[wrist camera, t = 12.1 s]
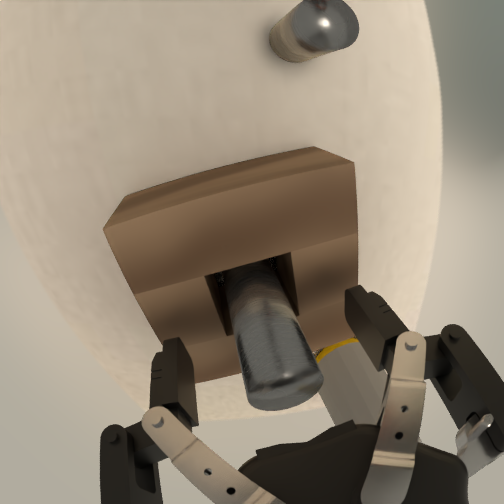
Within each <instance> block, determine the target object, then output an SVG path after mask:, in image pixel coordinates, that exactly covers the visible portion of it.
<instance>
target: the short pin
mask: <svg viewBox="0 0 504 504" xmlns="http://www.w3.org/2000/svg"><path fill="white" fill-rule="evenodd" d="M358 33H359V24H358V20H357V17H356V15H355V13H354V12H353V10H352V9H351V8H350V7H349V6H348V5H347V4H346V3H345V2H344V1H342V0H303V1H302V2H301V3H300V4H298V5H297V6H296V7H295V8H294V9H293V10H291V11H290V12H289V13H288V14H287V15H286V16H285V17H283V18H282V19H281V20H280V21H279V22H278V23H277V24H276V25H275V26H274V27H273V28H272V30H271V32H270V36H269V41H270V45H271V47H272V49H273V51H274V52H275V53H276V54H277V55H278V56H279V57H280V58H282V59H284V60H286V61H289V62H294V63H299V62H304V61H307V60H310V59H312V58H315V57H318V56H321V55H324V54H327V53H330V52H334V51H337V50H340V49H344V48H346V47H349V46H350V45H352V44H353V43H354V42H355V40H356V39H357V37H358Z"/></svg>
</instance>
